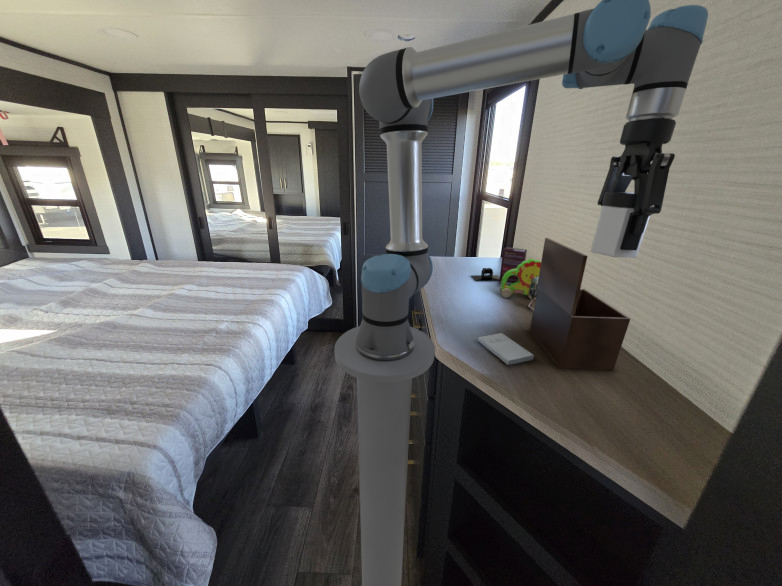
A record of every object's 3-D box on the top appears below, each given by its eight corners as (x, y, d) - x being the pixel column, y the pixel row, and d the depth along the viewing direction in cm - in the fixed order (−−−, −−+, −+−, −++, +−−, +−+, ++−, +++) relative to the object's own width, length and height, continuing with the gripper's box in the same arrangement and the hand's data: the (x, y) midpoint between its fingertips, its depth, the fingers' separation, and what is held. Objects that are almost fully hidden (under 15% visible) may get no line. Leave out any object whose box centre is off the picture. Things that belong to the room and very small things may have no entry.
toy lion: (500, 298, 119) (507, 259, 114) (498, 292, 124) (504, 255, 119) (544, 301, 117) (553, 262, 111) (540, 296, 122) (548, 258, 116)
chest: (573, 332, 94) (584, 289, 89) (613, 370, 76) (630, 318, 71) (529, 331, 95) (538, 287, 89) (559, 368, 77) (572, 317, 72)
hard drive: (507, 366, 77) (477, 341, 88) (533, 360, 80) (501, 337, 91) (508, 360, 77) (478, 336, 88) (534, 354, 79) (502, 332, 90)
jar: (638, 260, 59) (660, 195, 55) (589, 254, 64) (605, 192, 59) (634, 251, 67) (653, 192, 62) (590, 246, 71) (605, 190, 66)
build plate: (496, 276, 145) (498, 266, 143) (503, 281, 138) (504, 271, 136) (470, 276, 144) (471, 266, 142) (475, 281, 137) (477, 271, 135)
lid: (548, 237, 84) (545, 237, 84) (587, 255, 66) (583, 255, 66) (539, 286, 89) (537, 286, 89) (574, 315, 71) (571, 315, 71)
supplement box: (521, 286, 132) (527, 249, 126) (519, 289, 128) (525, 251, 123) (500, 282, 136) (505, 246, 131) (497, 285, 132) (503, 248, 127)
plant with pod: (518, 306, 112) (528, 252, 105) (546, 304, 114) (558, 251, 107) (531, 315, 105) (542, 258, 97) (561, 314, 107) (575, 257, 99)
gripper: (726, 109, 46) (672, 258, 55) (633, 127, 66) (604, 235, 74) (674, 109, 47) (628, 257, 55) (596, 127, 66) (571, 234, 74)
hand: (614, 244), depth 64 cm, fingers closed on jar, 8 cm apart
